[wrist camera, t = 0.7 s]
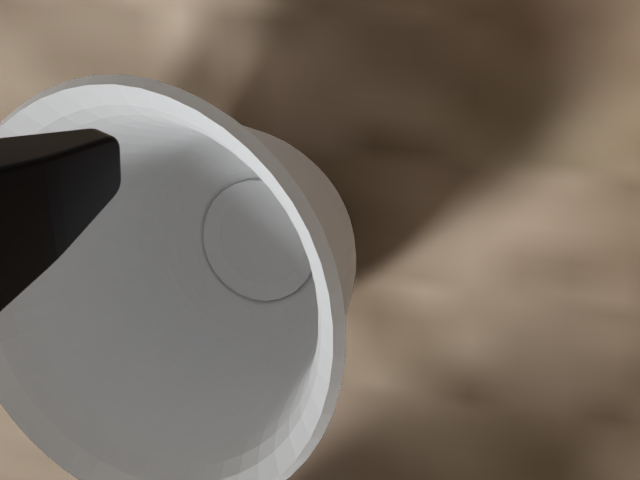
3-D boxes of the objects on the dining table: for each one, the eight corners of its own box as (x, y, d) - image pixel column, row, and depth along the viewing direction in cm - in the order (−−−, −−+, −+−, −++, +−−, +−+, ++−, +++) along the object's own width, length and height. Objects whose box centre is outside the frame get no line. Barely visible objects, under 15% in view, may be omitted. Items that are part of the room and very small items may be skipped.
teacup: (94, 75, 25) (-153, 58, 16) (430, 96, 20) (364, 88, 11) (104, 326, 28) (-98, 435, 19) (398, 391, 24) (325, 575, 14)
